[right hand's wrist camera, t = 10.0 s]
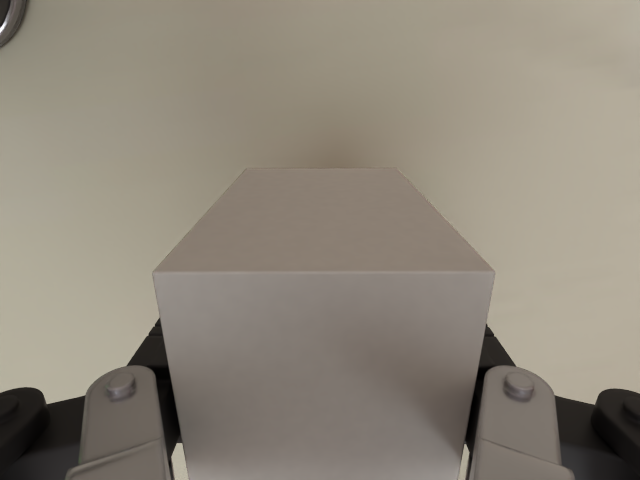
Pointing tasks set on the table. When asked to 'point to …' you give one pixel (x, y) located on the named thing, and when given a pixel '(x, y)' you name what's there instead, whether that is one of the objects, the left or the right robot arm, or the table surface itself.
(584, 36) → the table surface
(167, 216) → the table surface
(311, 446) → the box
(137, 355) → the right robot arm
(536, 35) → the table surface
